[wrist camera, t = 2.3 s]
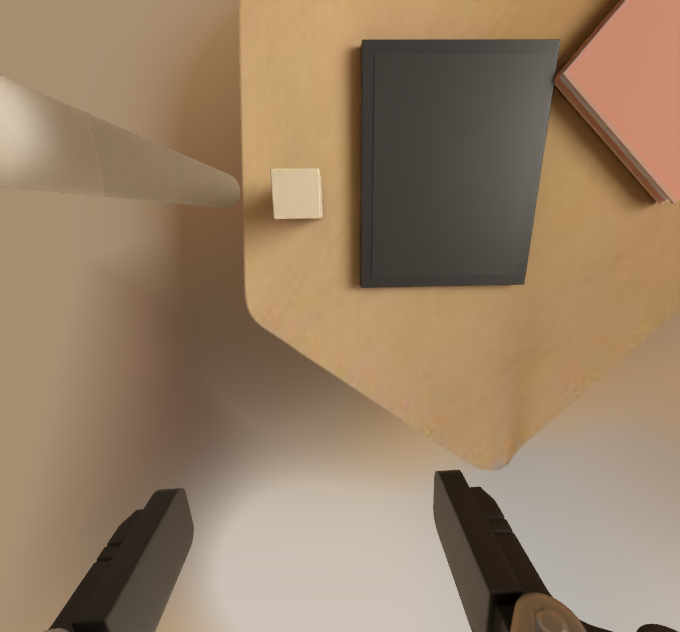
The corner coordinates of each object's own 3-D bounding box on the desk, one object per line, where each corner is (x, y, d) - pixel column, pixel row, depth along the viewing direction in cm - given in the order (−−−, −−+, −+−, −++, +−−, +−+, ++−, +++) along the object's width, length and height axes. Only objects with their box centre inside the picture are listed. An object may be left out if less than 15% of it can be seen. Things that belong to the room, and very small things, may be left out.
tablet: (360, 285, 33) (361, 288, 32) (360, 45, 27) (362, 38, 26) (518, 282, 33) (524, 284, 32) (552, 45, 27) (561, 38, 26)
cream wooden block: (290, 218, 31) (273, 219, 21) (288, 184, 30) (270, 168, 20) (322, 218, 31) (320, 218, 21) (322, 183, 30) (318, 167, 20)
